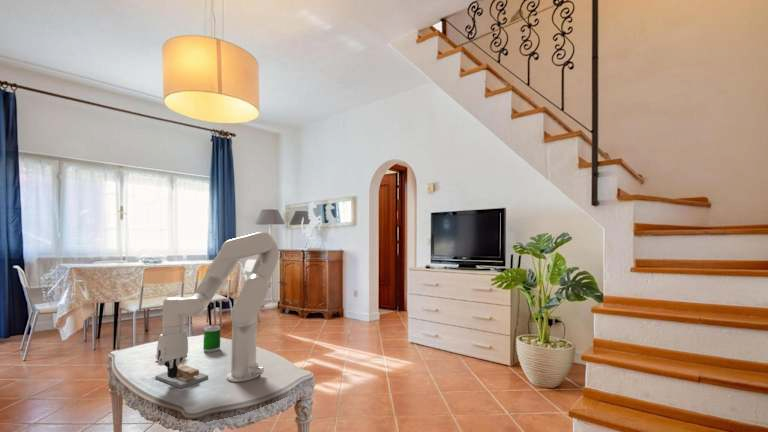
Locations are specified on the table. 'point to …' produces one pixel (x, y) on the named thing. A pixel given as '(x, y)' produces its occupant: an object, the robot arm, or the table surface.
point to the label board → (181, 379)
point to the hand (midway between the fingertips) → (172, 376)
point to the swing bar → (187, 371)
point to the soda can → (212, 338)
